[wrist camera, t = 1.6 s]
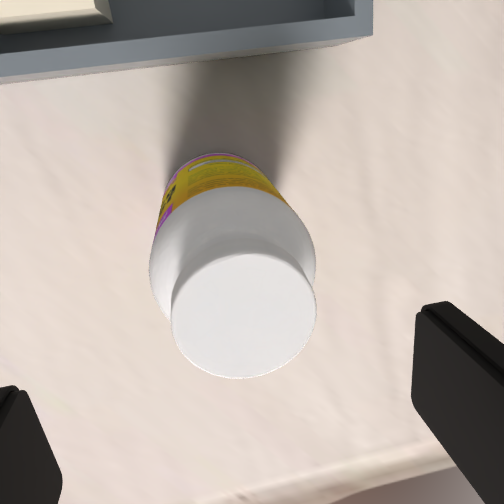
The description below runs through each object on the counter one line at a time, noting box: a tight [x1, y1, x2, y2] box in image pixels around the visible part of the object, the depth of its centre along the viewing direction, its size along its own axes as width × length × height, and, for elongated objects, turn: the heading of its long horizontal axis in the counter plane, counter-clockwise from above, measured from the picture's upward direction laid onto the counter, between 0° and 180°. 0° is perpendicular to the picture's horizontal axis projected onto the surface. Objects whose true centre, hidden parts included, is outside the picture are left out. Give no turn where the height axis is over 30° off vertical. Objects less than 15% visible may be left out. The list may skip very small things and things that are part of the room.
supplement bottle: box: [149, 153, 316, 379], centre depth 18 cm, size 7×7×13 cm
